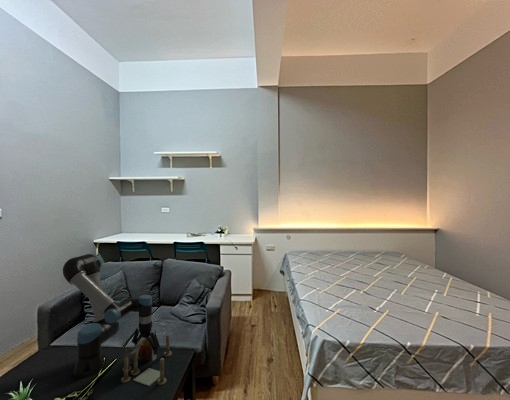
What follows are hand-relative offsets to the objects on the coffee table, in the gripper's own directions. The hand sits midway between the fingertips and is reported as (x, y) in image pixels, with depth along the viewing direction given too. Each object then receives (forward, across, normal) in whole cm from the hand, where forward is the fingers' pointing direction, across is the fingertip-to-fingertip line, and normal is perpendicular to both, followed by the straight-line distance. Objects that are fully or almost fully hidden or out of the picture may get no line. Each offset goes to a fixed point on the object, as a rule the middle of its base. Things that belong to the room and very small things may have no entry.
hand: (145, 357), depth 162 cm
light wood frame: (+2, 0, -14) cm, 14 cm away
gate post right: (+2, +23, -11) cm, 25 cm away
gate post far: (+2, +8, +10) cm, 13 cm away
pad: (+2, +14, -11) cm, 18 cm away
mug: (+2, 0, 0) cm, 2 cm away
